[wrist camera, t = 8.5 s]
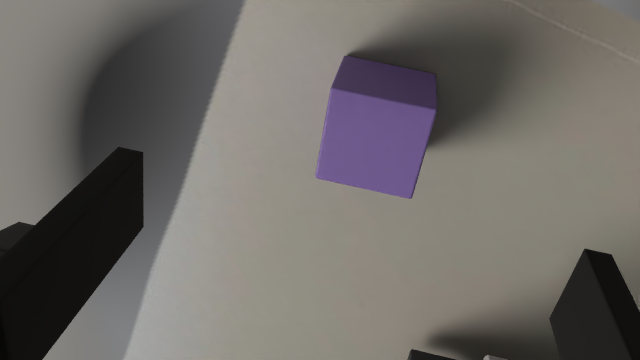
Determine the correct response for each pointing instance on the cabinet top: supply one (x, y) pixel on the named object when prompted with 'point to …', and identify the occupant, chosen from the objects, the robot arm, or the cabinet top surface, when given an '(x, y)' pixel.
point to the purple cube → (377, 126)
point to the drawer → (426, 359)
